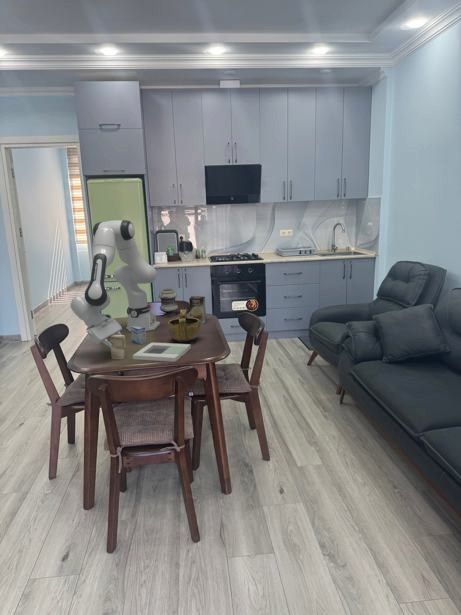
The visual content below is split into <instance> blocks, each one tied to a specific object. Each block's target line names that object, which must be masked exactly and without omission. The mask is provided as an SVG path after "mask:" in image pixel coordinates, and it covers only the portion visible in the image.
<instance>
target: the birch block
mask: <svg viewBox="0 0 461 615" xmlns="http://www.w3.org/2000/svg"><path fill="white" fill-rule="evenodd" d="M108 339H109V342H112V343H113V346H112V347H110V355H111V359H112V360H124V359H126V358H127V357H128V354H127V344H126V334H121V335H112V336H110V337H109V338H108Z"/></svg>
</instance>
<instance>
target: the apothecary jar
mask: <svg viewBox="0 0 461 615" xmlns="http://www.w3.org/2000/svg"><path fill="white" fill-rule="evenodd" d="M176 297H177V293H176V292H175V290H174V288H163V289H161V291H160V293H159V294H158V298H159V299H160V303H161V304H160V306H159V311H161V312H163V313H164V314H162V315H161V317H162V318H173V317H176V316H177V314H176V313H175V311H177V310H178V309H179V306H178V305H177V303H176Z"/></svg>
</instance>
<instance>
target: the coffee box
mask: <svg viewBox="0 0 461 615" xmlns="http://www.w3.org/2000/svg"><path fill="white" fill-rule="evenodd" d="M188 300H189V316H190V317H189V318H197V319H199V322H200V324H205V323H206V321H207V316H206V315H207V310H206V296H190V297H189V299H188Z"/></svg>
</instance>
